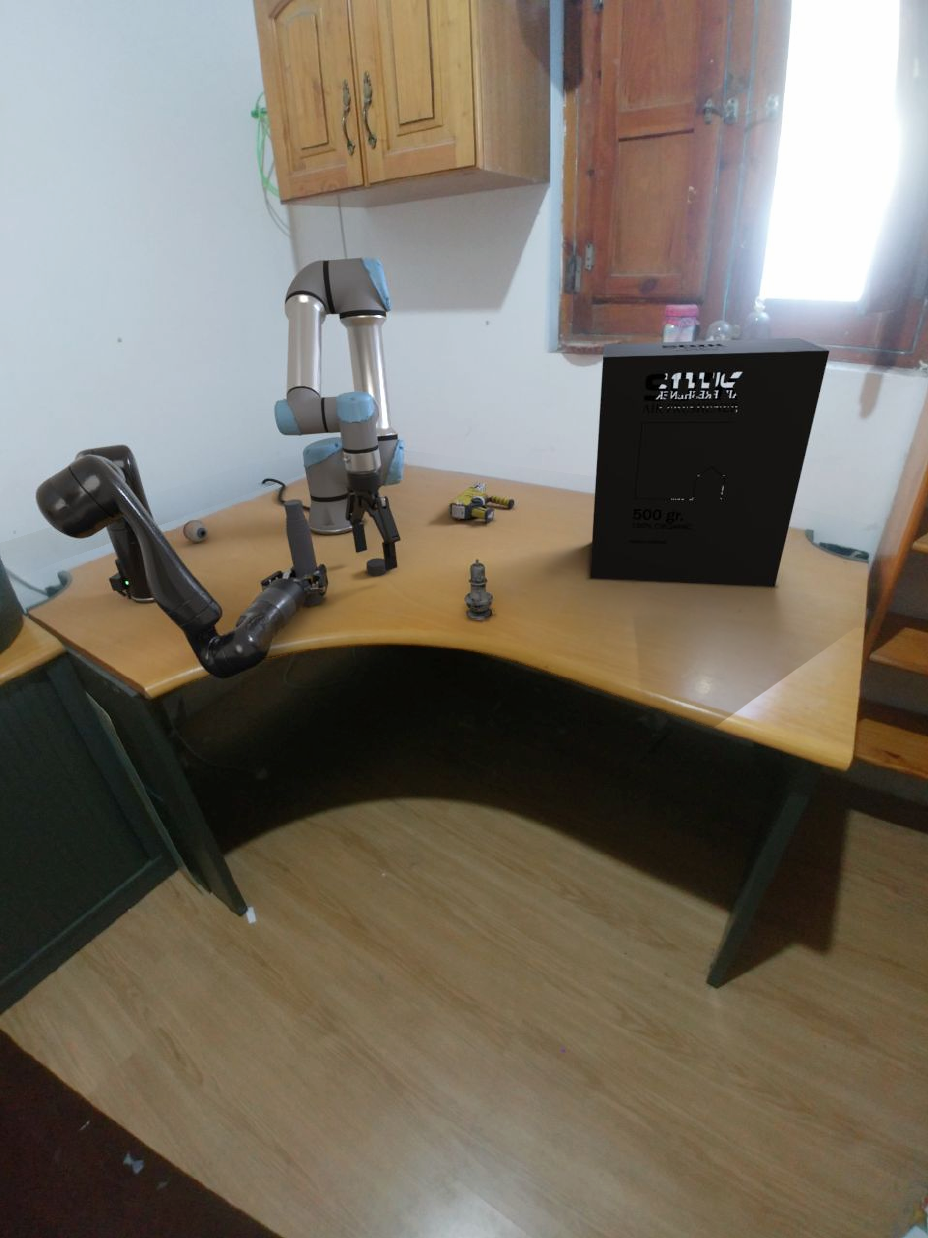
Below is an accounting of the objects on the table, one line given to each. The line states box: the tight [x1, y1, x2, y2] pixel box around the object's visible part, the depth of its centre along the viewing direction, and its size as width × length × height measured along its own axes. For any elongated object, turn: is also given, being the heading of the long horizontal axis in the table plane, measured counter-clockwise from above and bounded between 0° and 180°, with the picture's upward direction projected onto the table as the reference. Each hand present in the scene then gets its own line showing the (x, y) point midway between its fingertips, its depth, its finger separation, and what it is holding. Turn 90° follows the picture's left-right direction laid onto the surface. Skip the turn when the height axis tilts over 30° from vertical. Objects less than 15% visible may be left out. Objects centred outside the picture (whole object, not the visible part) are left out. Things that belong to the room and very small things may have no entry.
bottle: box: [283, 498, 324, 607], centre depth 125 cm, size 5×5×22 cm
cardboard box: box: [589, 337, 830, 587], centre depth 126 cm, size 38×20×45 cm, turn 78°
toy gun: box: [448, 481, 515, 523], centre depth 173 cm, size 5×24×15 cm
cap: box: [365, 557, 388, 577], centre depth 141 cm, size 5×5×2 cm
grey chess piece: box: [463, 559, 494, 621], centre depth 118 cm, size 6×6×12 cm
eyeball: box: [182, 519, 208, 544], centre depth 162 cm, size 6×6×6 cm
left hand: (311, 567), depth 129 cm, fingers closed on bottle, 4 cm apart
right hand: (376, 559), depth 140 cm, fingers open, 13 cm apart
